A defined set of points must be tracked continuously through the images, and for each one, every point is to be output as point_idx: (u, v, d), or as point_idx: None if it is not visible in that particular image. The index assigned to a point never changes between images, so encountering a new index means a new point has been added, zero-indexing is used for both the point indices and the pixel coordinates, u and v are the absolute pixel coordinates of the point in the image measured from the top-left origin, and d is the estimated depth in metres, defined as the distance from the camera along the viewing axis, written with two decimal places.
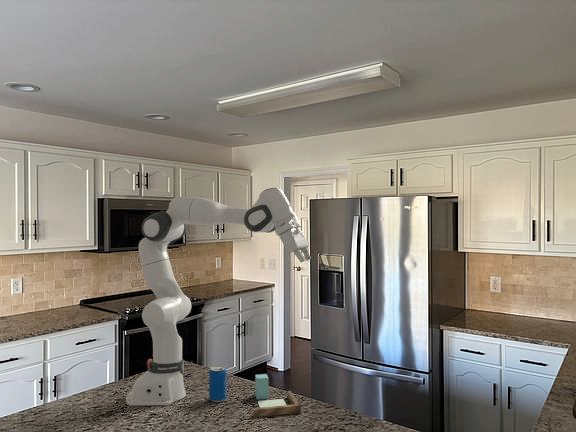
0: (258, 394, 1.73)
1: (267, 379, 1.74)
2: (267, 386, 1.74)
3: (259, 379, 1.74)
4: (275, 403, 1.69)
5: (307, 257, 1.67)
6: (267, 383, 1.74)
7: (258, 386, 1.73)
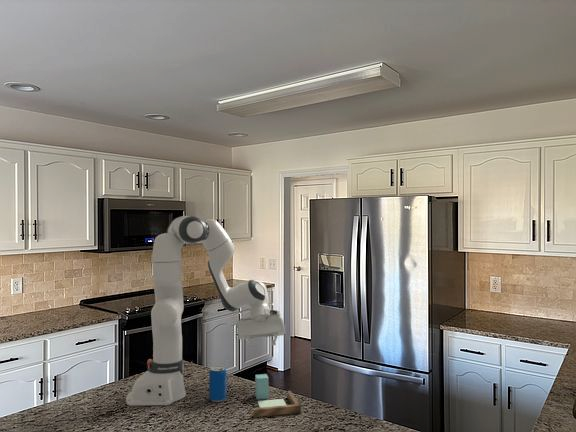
0: (258, 394, 1.73)
1: (267, 379, 1.74)
2: (267, 386, 1.74)
3: (259, 379, 1.74)
4: (275, 403, 1.69)
5: (252, 344, 1.88)
6: (267, 383, 1.74)
7: (258, 386, 1.73)
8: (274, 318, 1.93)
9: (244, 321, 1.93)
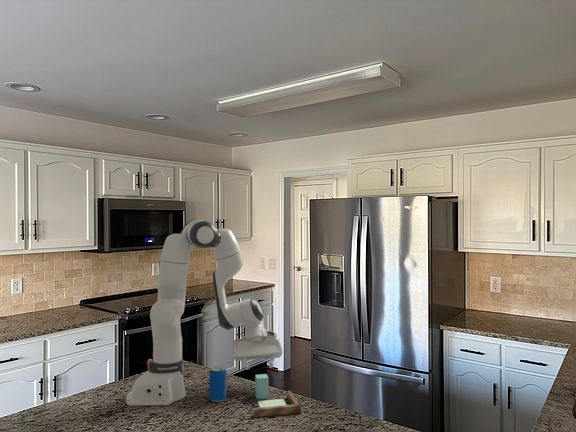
0: (258, 394, 1.73)
1: (267, 379, 1.74)
2: (267, 386, 1.74)
3: (259, 379, 1.74)
4: (275, 403, 1.69)
5: (249, 366, 1.81)
6: (267, 383, 1.74)
7: (258, 386, 1.73)
8: (272, 339, 1.89)
9: (240, 341, 1.87)
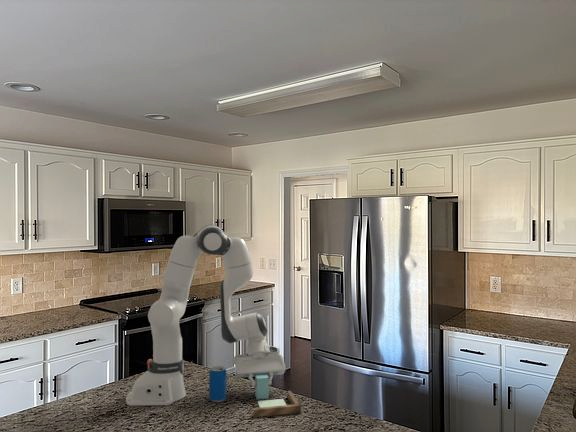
0: (258, 394, 1.73)
1: (267, 379, 1.74)
2: (267, 386, 1.74)
3: (259, 379, 1.74)
4: (275, 403, 1.69)
5: None
6: (267, 383, 1.74)
7: (258, 386, 1.73)
8: (274, 355, 1.83)
9: (242, 357, 1.81)
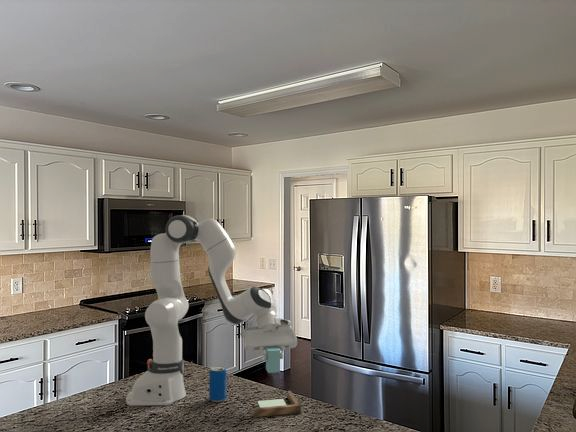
0: (269, 367, 1.65)
1: (278, 352, 1.66)
2: (279, 359, 1.66)
3: (270, 352, 1.65)
4: (275, 403, 1.69)
5: (266, 356, 1.67)
6: (278, 356, 1.66)
7: (269, 359, 1.65)
8: (285, 328, 1.75)
9: (252, 330, 1.72)
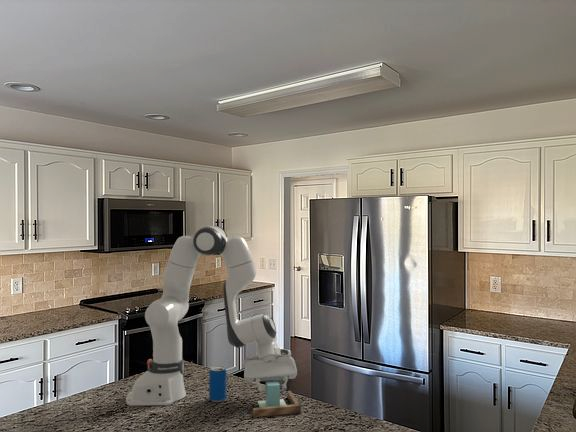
0: (269, 402, 1.65)
1: (278, 386, 1.66)
2: (278, 394, 1.66)
3: (270, 386, 1.65)
4: None
5: None
6: (278, 391, 1.66)
7: (269, 394, 1.65)
8: (285, 358, 1.74)
9: (251, 361, 1.72)
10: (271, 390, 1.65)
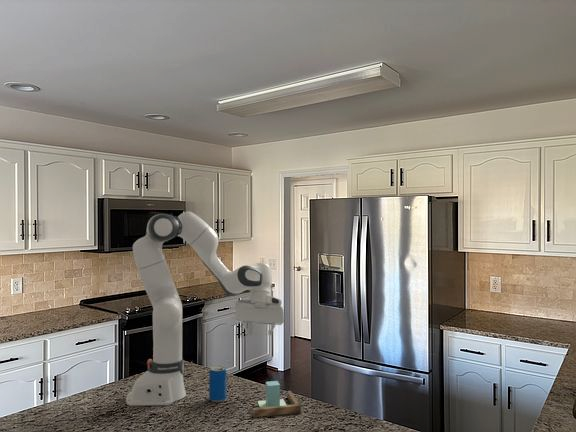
0: (269, 402, 1.65)
1: (278, 386, 1.66)
2: (278, 394, 1.66)
3: (270, 386, 1.65)
4: None
5: (248, 331, 1.82)
6: (278, 391, 1.66)
7: (269, 394, 1.65)
8: (275, 307, 1.86)
9: (243, 304, 1.85)
10: (271, 390, 1.65)
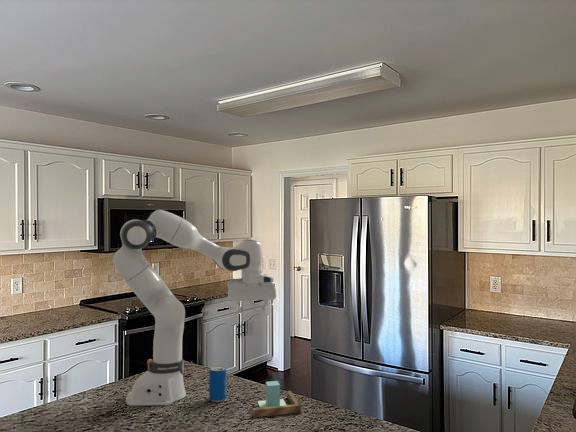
0: (269, 402, 1.65)
1: (278, 386, 1.66)
2: (278, 394, 1.66)
3: (270, 386, 1.65)
4: None
5: None
6: (278, 391, 1.66)
7: (269, 394, 1.65)
8: (267, 285, 1.88)
9: (236, 285, 1.86)
10: (271, 390, 1.65)
